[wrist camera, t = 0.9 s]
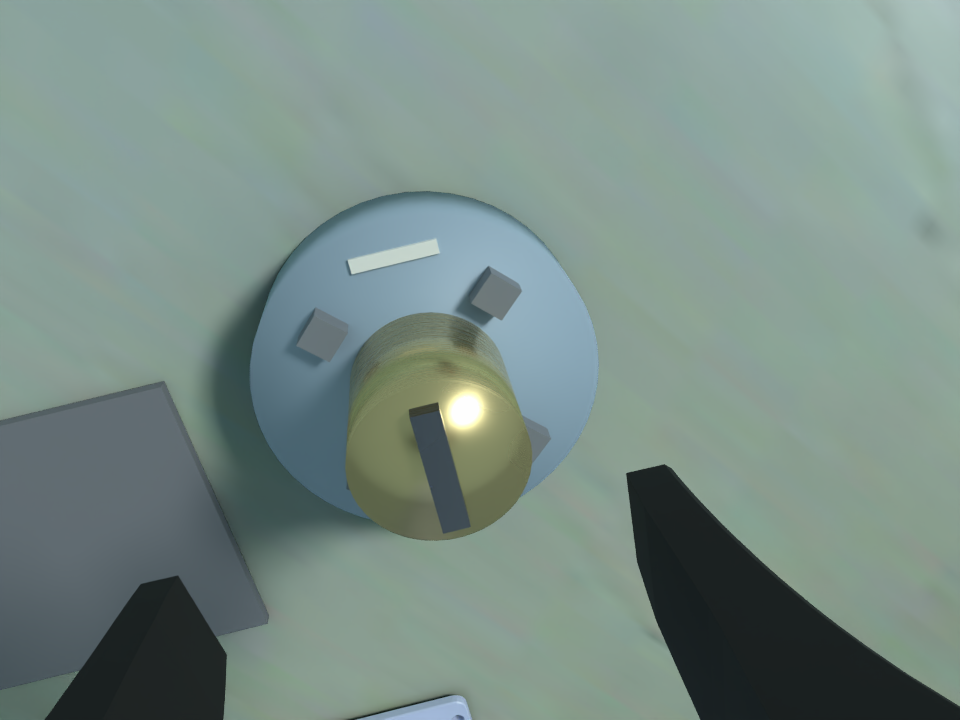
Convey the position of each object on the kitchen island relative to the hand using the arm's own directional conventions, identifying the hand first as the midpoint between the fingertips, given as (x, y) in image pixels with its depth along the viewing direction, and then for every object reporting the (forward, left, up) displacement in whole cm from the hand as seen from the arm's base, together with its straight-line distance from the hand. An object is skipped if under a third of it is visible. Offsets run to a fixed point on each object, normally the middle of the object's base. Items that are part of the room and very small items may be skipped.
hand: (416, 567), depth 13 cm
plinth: (-2, 0, -13) cm, 13 cm away
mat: (-6, +13, -13) cm, 19 cm away
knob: (-2, 0, -10) cm, 10 cm away
